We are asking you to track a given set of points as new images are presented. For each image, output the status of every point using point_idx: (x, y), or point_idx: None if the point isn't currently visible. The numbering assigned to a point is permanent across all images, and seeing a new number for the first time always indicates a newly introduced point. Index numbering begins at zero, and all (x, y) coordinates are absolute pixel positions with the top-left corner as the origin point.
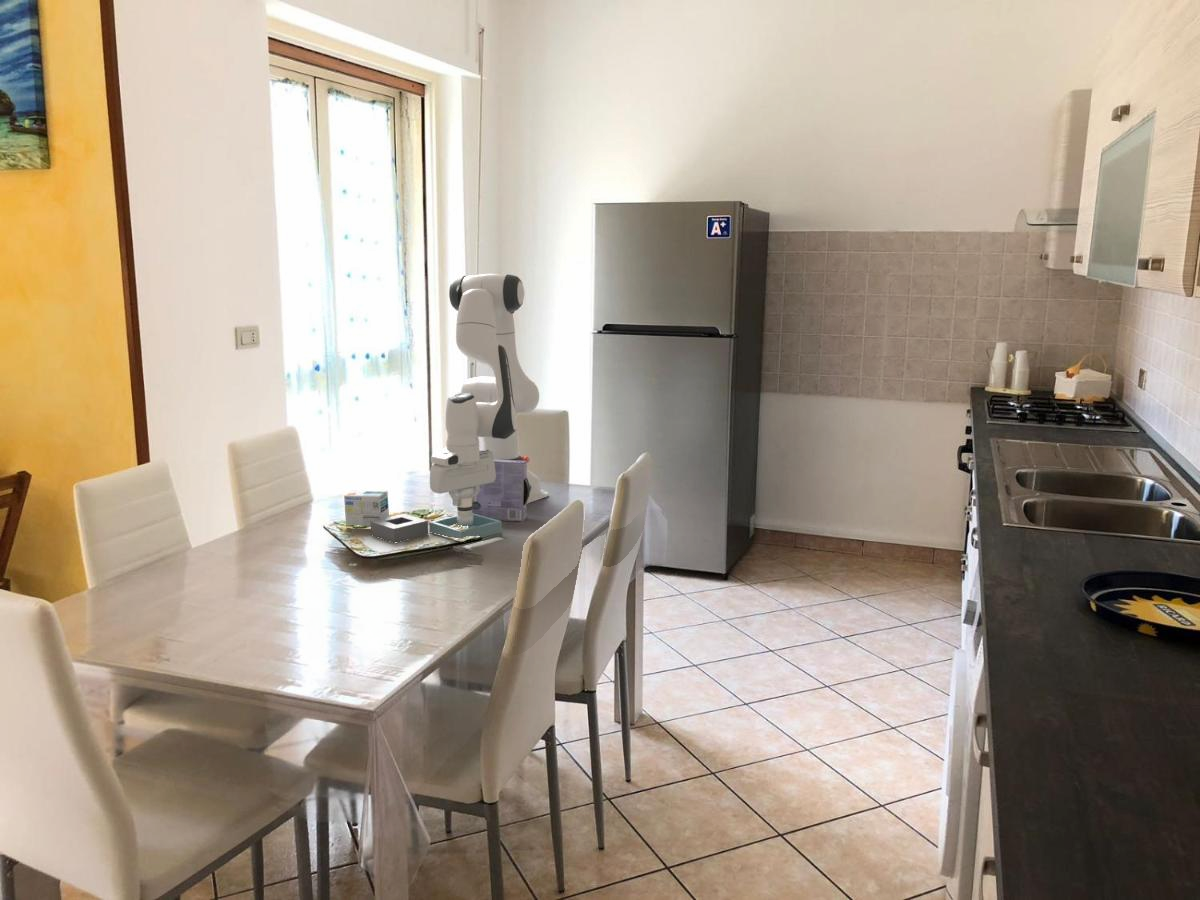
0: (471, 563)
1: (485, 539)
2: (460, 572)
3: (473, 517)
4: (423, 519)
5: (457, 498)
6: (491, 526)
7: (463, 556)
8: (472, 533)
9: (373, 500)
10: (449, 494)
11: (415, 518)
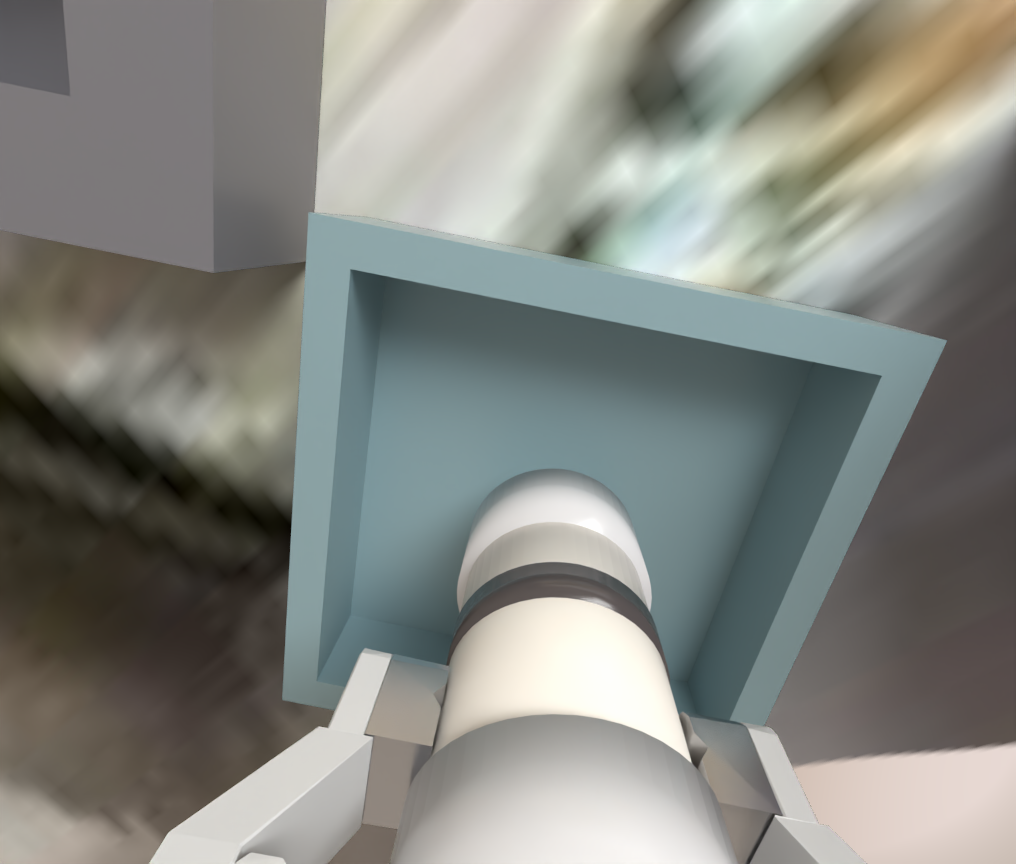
0: (156, 812)
1: None
2: (32, 837)
3: (829, 444)
4: (206, 178)
5: (328, 850)
6: None
7: (201, 726)
8: None
9: None
10: (198, 817)
11: (155, 22)
